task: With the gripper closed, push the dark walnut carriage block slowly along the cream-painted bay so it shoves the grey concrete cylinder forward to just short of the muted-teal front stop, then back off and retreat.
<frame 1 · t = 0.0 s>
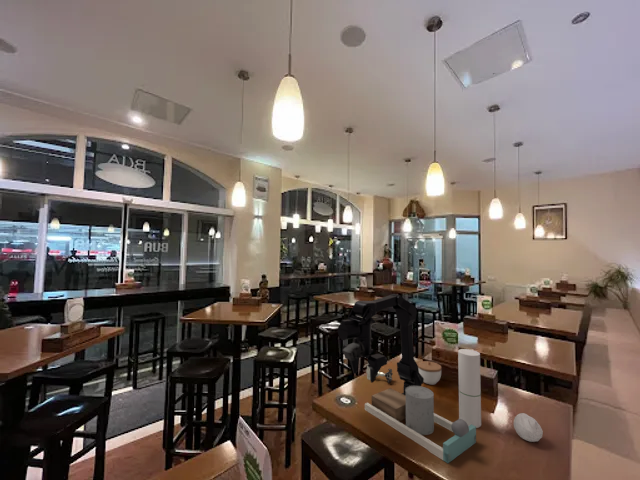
hand: (363, 377, 107), 15 cm above the table, fingers open, 9 cm apart
grey concrete cylinder: (419, 428, 101), resting in bay
valve: (378, 380, 139), on the table
lidded jar: (429, 382, 137), on the table
carriage: (392, 404, 111), point 3 cm above the table, slide at 0.0 cm
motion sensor: (527, 439, 95), on the table
bay: (418, 426, 102), on the table
cylindrical container: (470, 422, 105), on the table
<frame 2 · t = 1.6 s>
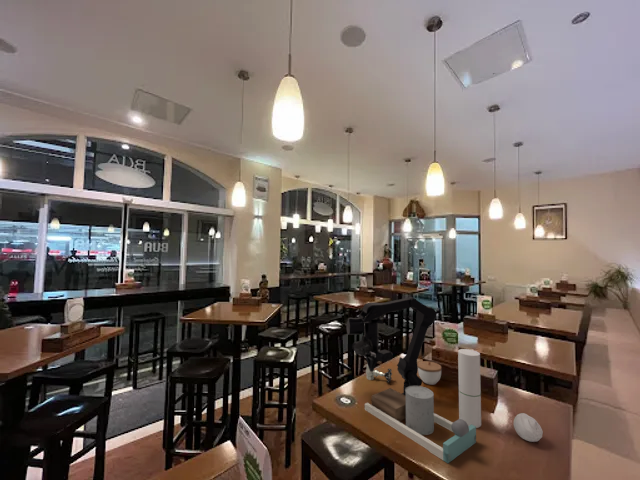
hand: (371, 371, 121), 12 cm above the table, fingers closed
nothing on the table moved.
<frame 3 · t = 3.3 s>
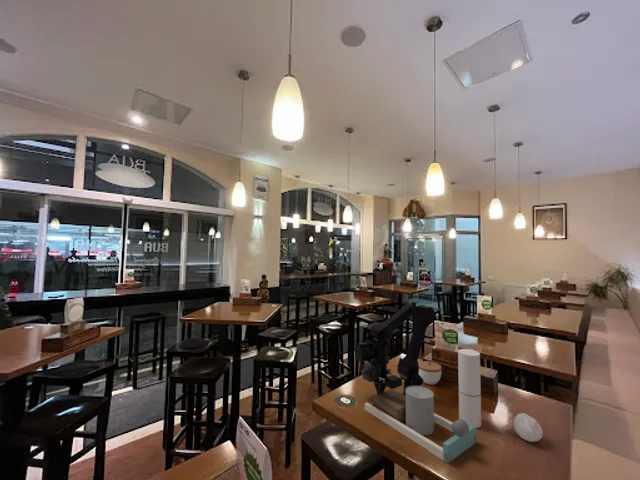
hand: (379, 396, 117), 3 cm above the table, fingers closed
carriage: (394, 405, 111), point 3 cm above the table, slide at 0.7 cm, touching gripper
everything else where it was.
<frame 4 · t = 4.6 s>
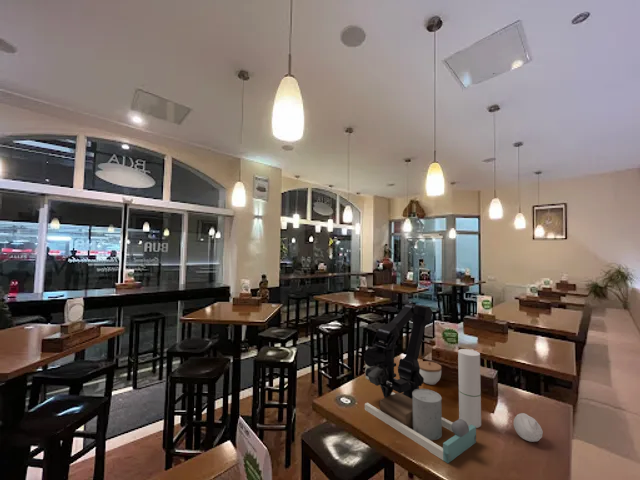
hand: (386, 400, 114), 3 cm above the table, fingers closed
grey concrete cylinder: (427, 432, 99), resting in bay, touching carriage
carriage: (401, 409, 108), point 3 cm above the table, slide at 4.3 cm, touching grey concrete cylinder, gripper
everything else where it was.
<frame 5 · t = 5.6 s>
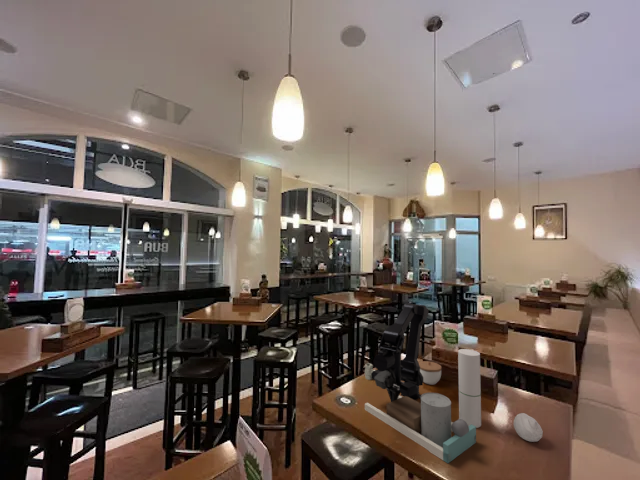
hand: (393, 404, 111), 3 cm above the table, fingers closed
grey concrete cylinder: (436, 437, 96), resting in bay, touching carriage
carriage: (409, 413, 105), point 3 cm above the table, slide at 7.7 cm, touching grey concrete cylinder, gripper
everything else where it was.
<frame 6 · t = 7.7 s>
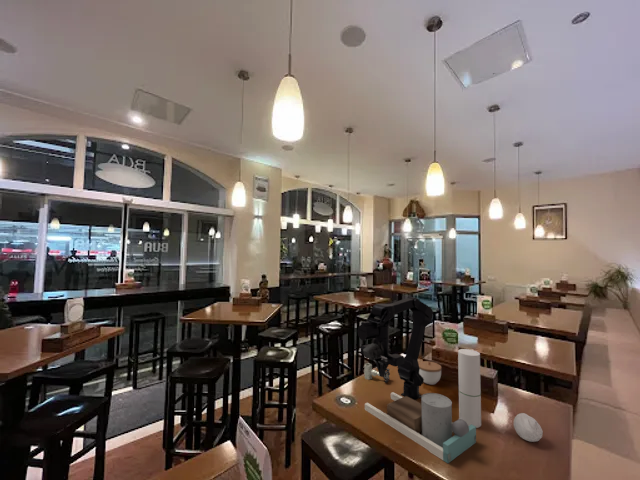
hand: (381, 376, 115), 12 cm above the table, fingers closed
grey concrete cylinder: (436, 438, 96), resting in bay
carriage: (410, 413, 105), point 3 cm above the table, slide at 8.0 cm
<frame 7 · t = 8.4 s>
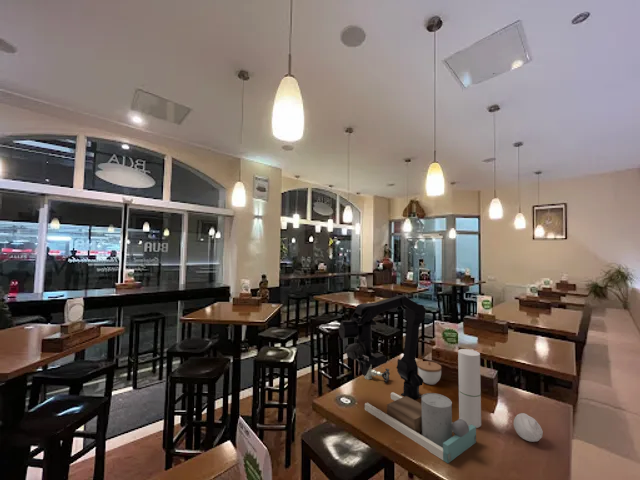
hand: (364, 375, 116), 12 cm above the table, fingers closed
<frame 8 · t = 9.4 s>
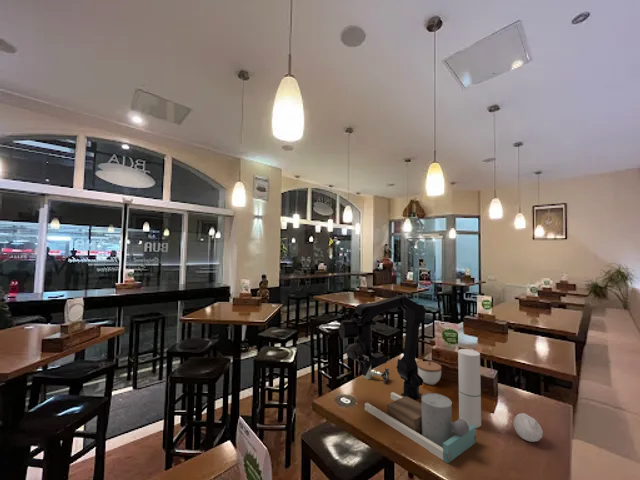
hand: (364, 375, 116), 12 cm above the table, fingers closed
at the end: grey concrete cylinder inside the target area (1.8 cm from its centre), resting in bay; grey concrete cylinder tilted 0°; carriage slide at 8.0 cm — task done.
